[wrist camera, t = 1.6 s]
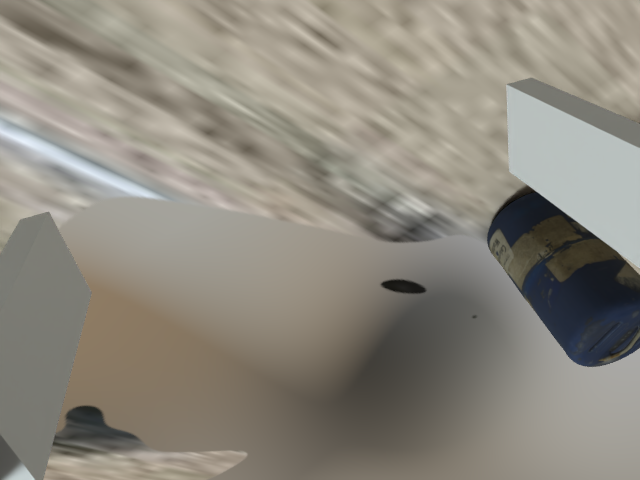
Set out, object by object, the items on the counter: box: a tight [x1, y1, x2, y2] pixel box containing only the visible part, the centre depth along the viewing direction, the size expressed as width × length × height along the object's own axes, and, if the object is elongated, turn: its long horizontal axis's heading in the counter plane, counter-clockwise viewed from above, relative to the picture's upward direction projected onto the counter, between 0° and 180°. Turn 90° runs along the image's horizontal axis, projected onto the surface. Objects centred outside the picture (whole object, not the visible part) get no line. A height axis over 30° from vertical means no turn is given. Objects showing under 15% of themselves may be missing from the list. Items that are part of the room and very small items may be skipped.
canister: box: [487, 192, 640, 367], centre depth 55 cm, size 10×10×18 cm
